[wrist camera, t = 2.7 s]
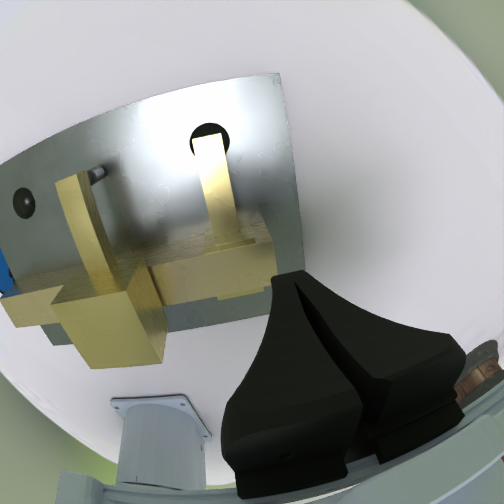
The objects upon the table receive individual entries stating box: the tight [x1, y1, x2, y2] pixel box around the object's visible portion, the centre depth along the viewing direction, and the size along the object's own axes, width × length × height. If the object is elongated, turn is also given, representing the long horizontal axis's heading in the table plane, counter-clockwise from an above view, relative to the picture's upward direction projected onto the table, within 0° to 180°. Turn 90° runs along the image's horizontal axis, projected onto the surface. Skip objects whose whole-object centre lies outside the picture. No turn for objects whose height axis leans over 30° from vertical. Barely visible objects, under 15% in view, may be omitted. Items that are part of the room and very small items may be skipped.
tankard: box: [453, 340, 504, 463], centre depth 22 cm, size 24×17×20 cm
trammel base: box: [0, 73, 305, 346], centre depth 14 cm, size 14×20×3 cm
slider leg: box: [50, 166, 169, 369], centre depth 12 cm, size 8×4×5 cm, turn 9°
